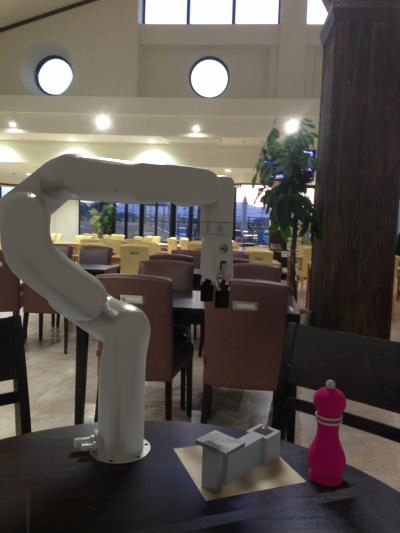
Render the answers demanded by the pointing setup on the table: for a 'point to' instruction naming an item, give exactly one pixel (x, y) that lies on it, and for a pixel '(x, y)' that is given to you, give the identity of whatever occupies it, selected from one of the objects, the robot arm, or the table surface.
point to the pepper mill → (327, 437)
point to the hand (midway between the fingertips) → (213, 304)
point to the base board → (252, 481)
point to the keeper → (216, 458)
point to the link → (251, 453)
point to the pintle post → (264, 430)
